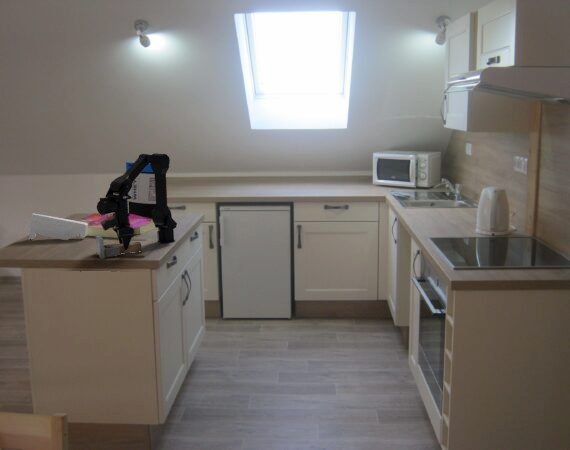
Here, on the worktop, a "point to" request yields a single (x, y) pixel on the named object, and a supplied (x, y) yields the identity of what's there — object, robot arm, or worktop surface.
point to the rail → (131, 248)
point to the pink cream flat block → (96, 228)
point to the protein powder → (142, 193)
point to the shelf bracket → (56, 227)
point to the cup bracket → (102, 249)
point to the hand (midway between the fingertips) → (123, 247)
